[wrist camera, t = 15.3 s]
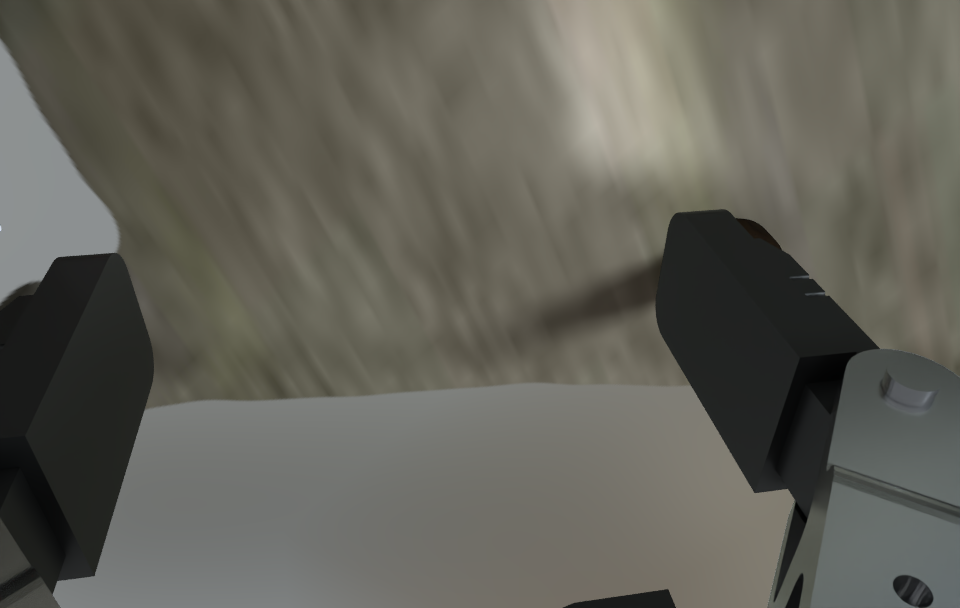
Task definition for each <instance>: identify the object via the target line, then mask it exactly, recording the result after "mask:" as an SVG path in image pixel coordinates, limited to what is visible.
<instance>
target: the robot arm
mask: <svg viewBox="0 0 960 608" xmlns="http://www.w3.org/2000/svg"><path fill="white" fill-rule="evenodd" d="M656 318H657V323H658V327H659V330H660V333H661V335H662V337H663V339H664V341H665V342H666V344H667V346H668V347H669V349H670V351H671V352H672V354H673V356H674V357H675V359H676V361H677V363H678V364H679V366H680V368H681V369H682V371H683V373H684V374H685V376H686V378H687V379H688V381H689V383H690V385H691V386H692V388H693V389H694V391H695V393H696V395H697V396H698V398H699V400H700V401H701V403H702V405H703V407H704V408H705V410H706V412H707V413H708V415H709V417H710V418H711V420H712V421H713V423H714V425H715V427H716V429H717V430H718V432H719V434H720V435H721V437H722V439H723V440H724V442H725V444H726V445H727V447H728V449H729V450H730V452H731V454H732V456H733V457H734V459H735V461H736V462H737V464H738V466H739V467H740V469H741V471H742V472H743V474H744V476H745V478H746V479H747V481H748V483H749V484H750V486H751V488H752V489H753V491H754V493H759V492H767V491H774V490H782V489H788V490H789V491H790V493H791V494H792V496H793V497H794V499H795V501H794V503H793V506H792V509H791V511H790V514H789V517H788V521H787V526H786V529H785V533H784V538H783V542H782V546H781V551H780V555H779V559H778V563H777V568H776V572H775V576H774V581H773V585H772V589H771V593H770V598H769V602H768V606H767V608H960V377H958V376H957V375H956V374H954V373H953V372H952V371H950V370H949V369H947V368H946V367H944V366H942V365H940V364H938V363H936V362H934V361H932V360H930V359H927V358H925V357H923V356H919V355H916V354H913V353H909V352H905V351H900V350H893V349H880V348H879V347H878V346H877V345H876V344H875V343H874V342H873V341H872V340H871V339H870V338H869V337H868V336H867V335H866V334H865V333H864V332H863V331H862V330H861V328H860V327H859V326H858V325H857V324H856V323H855V322H854V321H853V320H852V319H851V318H850V317H849V316H848V315H847V314H846V313H845V312H844V311H843V310H842V309H841V308H840V307H839V306H838V305H837V304H836V302H835V301H834V300H833V299H832V298H831V297H830V296H825V291H824V290H823V289H822V288H821V287H820V286H819V285H818V284H817V283H816V282H815V281H814V280H813V279H809V274H808V273H807V272H806V271H805V270H804V269H803V268H802V267H801V266H800V265H799V264H798V263H797V262H796V261H795V260H794V259H793V258H792V257H791V256H790V255H789V254H787V253H786V252H784V251H782V250H780V249H778V248H777V247H775V246H773V245H771V244H770V243H768V242H766V241H764V240H762V239H761V238H756V239H754V238H753V237H752V236H751V235H750V234H749V233H748V232H747V231H746V229H745V228H744V227H743V226H742V225H741V224H740V223H739V222H738V221H737V220H736V219H735V217H734V216H733V215H732V214H731V213H730V212H729V211H727V210H724V209H720V210H707V211H693V212H680V213H676V214H675V215H674V216H673V217H672V219H671V221H670V224H669V227H668V232H667V238H666V244H665V249H664V255H663V260H662V266H661V272H660V277H659V283H658V289H657V294H656ZM153 374H154V360H153V351H152V346H151V342H150V338H149V335H148V332H147V329H146V326H145V322H144V319H143V316H142V313H141V310H140V307H139V304H138V301H137V298H136V294H135V291H134V288H133V285H132V282H131V279H130V276H129V273H128V270H127V267H126V264H125V262H124V260H123V259H122V257H121V256H120V255H119V254H117V253H109V254H96V255H95V254H94V255H81V256H69V257H68V256H67V257H58V258H56V259H55V260H54V262H53V263H52V265H51V267H50V268H49V270H48V272H47V273H46V275H45V277H44V278H43V280H42V282H41V284H40V285H39V287H38V289H37V290H36V292H35V294H34V295H27V296H19V297H17V298H16V299H15V300H14V301H12V302H11V303H10V304H8V305H7V306H6V307H5V308H3V309H2V310H1V311H0V608H60V606H59V604H58V603H57V601H56V600H55V598H54V597H53V592H54V589H55V586H56V583H57V581H59V580H68V579H76V578H84V577H91V576H95V572H96V569H97V565H98V562H99V559H100V555H101V552H102V549H103V546H104V542H105V539H106V536H107V532H108V529H109V525H110V522H111V519H112V516H113V512H114V509H115V506H116V502H117V499H118V495H119V492H120V489H121V486H122V482H123V479H124V476H125V472H126V469H127V466H128V463H129V459H130V456H131V452H132V449H133V446H134V442H135V439H136V436H137V433H138V429H139V426H140V423H141V419H142V416H143V413H144V409H145V406H146V403H147V399H148V396H149V393H150V389H151V386H152V382H153ZM563 608H676V607H675V604H674V602H673V600H672V597H671V595H670V592H669V590H668V589H666V590H659V591H653V592H646V593H640V594H632V595H626V596H618V597H611V598H605V599H599V600H591V601H584V602H578V603H573V604H571V605H568V606H566V607H563Z"/></svg>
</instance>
